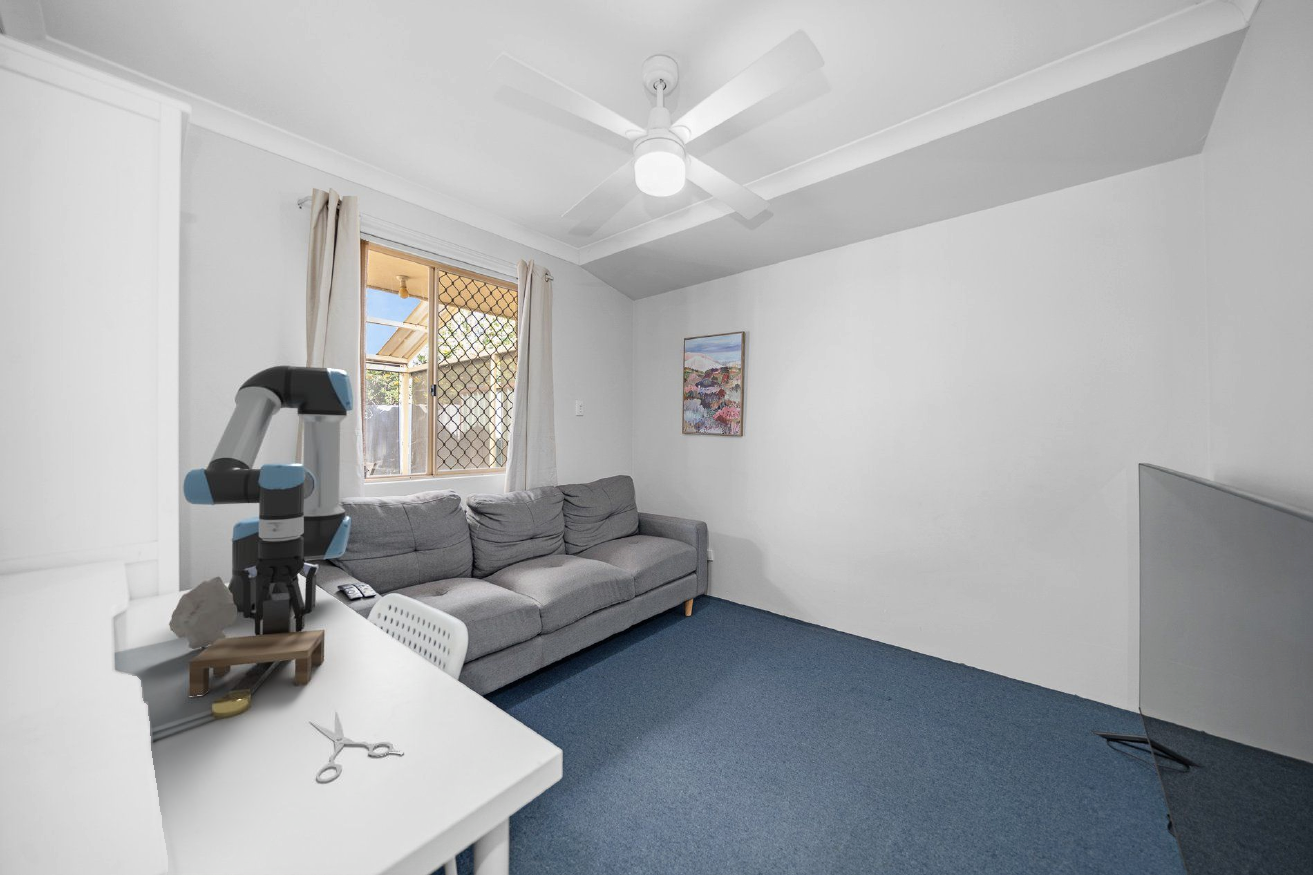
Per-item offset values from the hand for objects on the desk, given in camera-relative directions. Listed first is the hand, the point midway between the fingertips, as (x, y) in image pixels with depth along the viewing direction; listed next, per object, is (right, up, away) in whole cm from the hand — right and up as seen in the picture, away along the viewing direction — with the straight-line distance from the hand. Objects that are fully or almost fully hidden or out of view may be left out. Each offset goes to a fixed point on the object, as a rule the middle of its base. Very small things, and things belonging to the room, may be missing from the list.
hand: (279, 647), depth 104 cm
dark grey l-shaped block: (+2, -1, -7) cm, 8 cm away
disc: (+6, -3, -19) cm, 20 cm away
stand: (+3, -2, -8) cm, 9 cm away
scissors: (+30, -4, -26) cm, 40 cm away
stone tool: (-19, -2, +4) cm, 20 cm away
